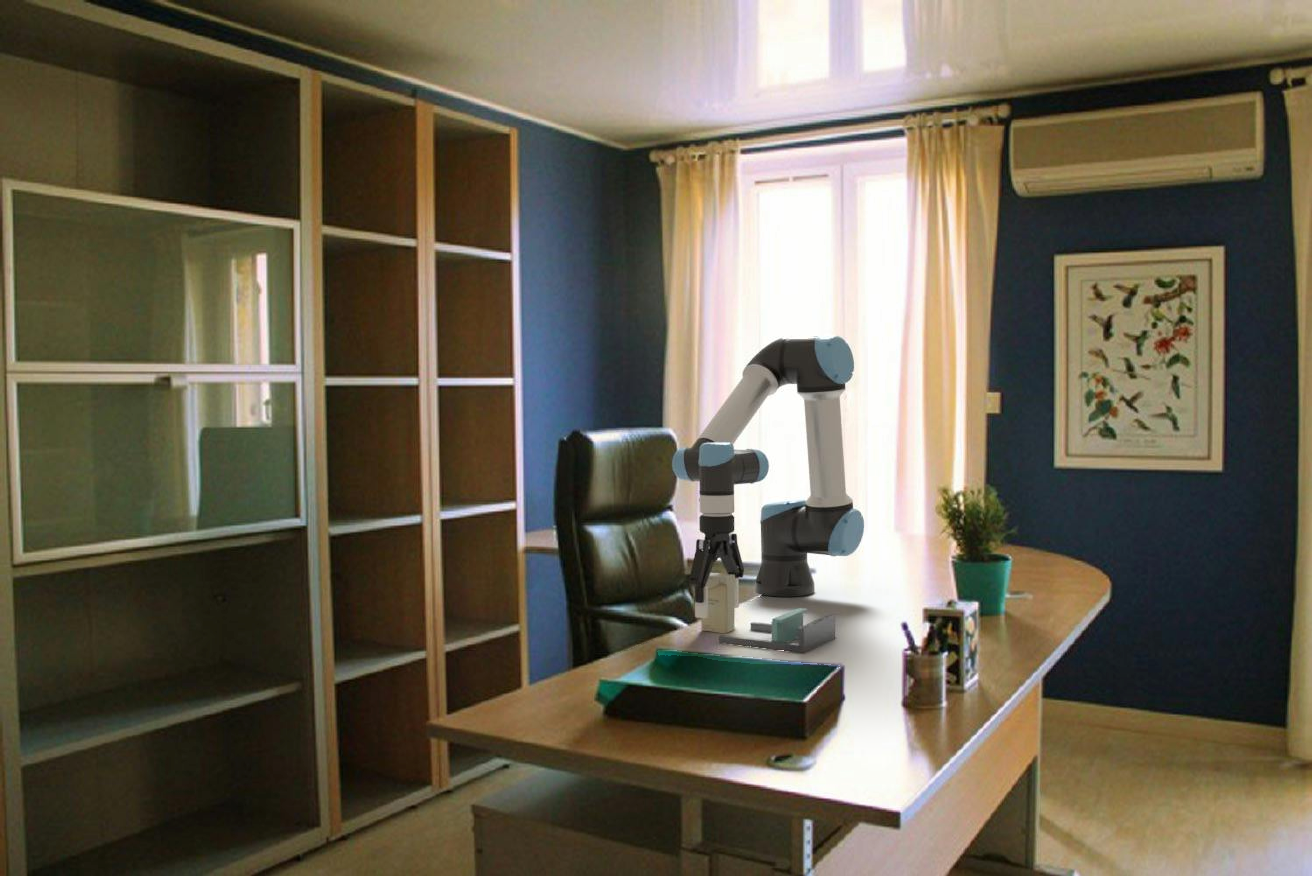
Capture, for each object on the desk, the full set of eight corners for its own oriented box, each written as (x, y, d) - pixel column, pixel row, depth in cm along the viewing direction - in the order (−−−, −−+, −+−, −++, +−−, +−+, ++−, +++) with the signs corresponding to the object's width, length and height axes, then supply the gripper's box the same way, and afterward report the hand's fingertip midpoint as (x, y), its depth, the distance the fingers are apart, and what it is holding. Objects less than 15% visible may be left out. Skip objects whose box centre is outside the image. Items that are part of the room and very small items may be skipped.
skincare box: (700, 630, 243) (700, 575, 243) (710, 627, 247) (709, 571, 246) (726, 633, 240) (726, 577, 239) (736, 629, 244) (735, 574, 243)
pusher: (791, 633, 238) (791, 607, 237) (807, 635, 236) (807, 608, 235) (765, 645, 227) (764, 618, 227) (781, 647, 225) (781, 619, 225)
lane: (753, 628, 244) (753, 606, 244) (835, 638, 234) (835, 614, 234) (718, 643, 231) (718, 619, 231) (804, 653, 221) (803, 628, 221)
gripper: (729, 508, 255) (729, 601, 256) (671, 518, 234) (672, 620, 235) (759, 509, 251) (759, 604, 252) (702, 520, 230) (703, 624, 231)
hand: (717, 612), depth 243 cm, fingers open, 13 cm apart
